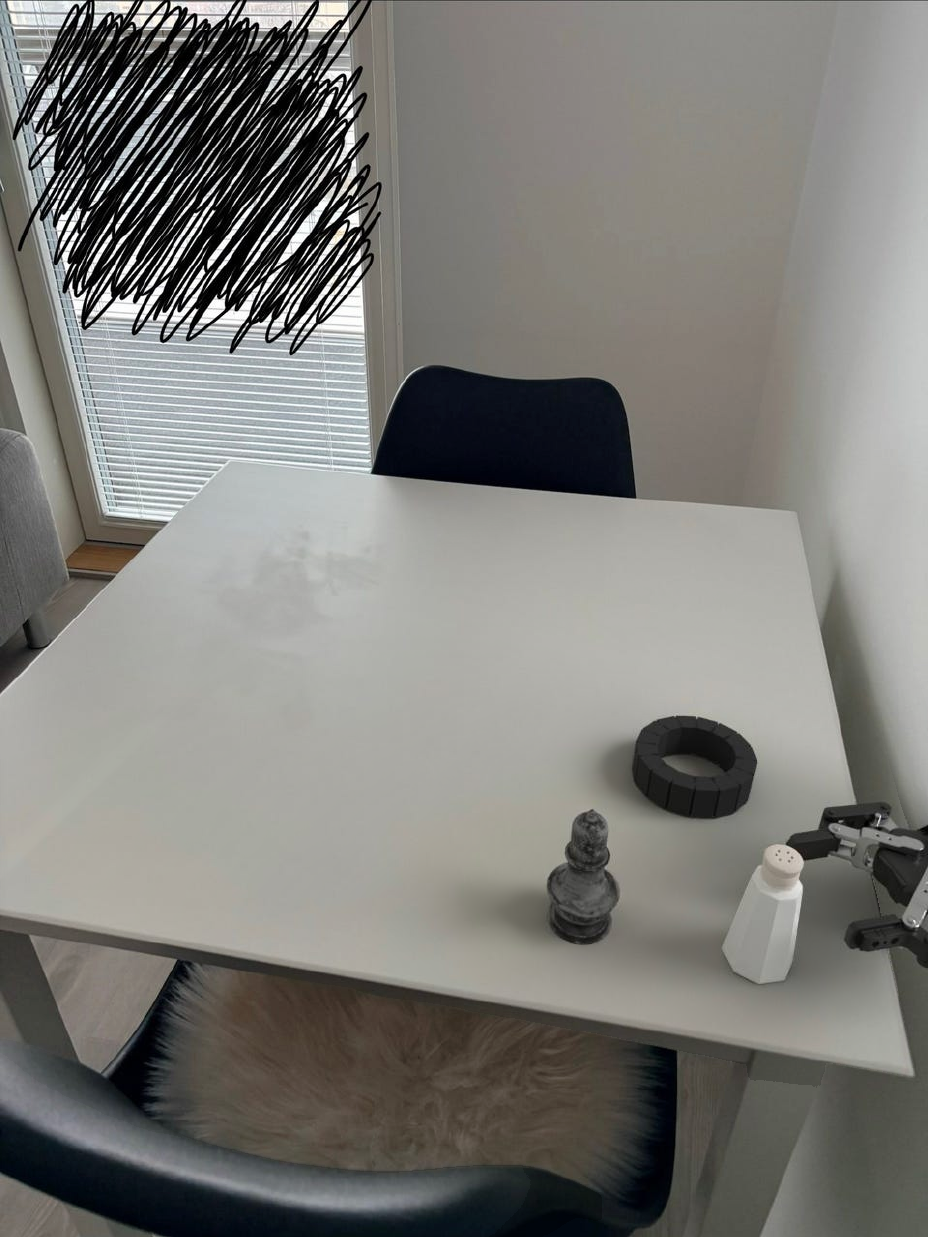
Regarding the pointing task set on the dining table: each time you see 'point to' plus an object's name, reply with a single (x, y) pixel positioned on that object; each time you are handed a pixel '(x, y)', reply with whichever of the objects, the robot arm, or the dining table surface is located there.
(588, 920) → the grey chess piece
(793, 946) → the pepper shaker
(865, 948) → the robot arm
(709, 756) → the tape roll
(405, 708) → the dining table surface
